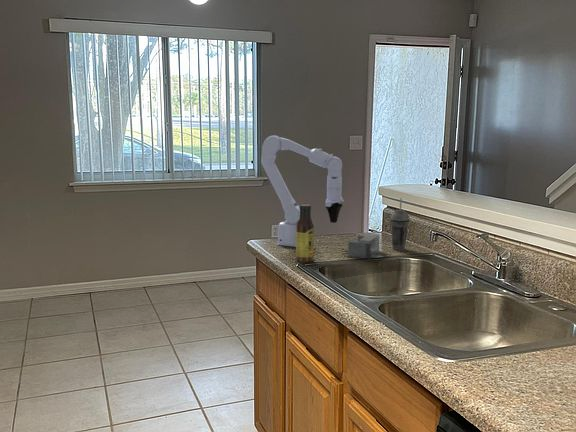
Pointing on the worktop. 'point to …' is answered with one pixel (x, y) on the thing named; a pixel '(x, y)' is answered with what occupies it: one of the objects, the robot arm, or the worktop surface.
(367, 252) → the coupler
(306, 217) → the sauce bottle
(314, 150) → the robot arm
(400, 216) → the beverage cup
